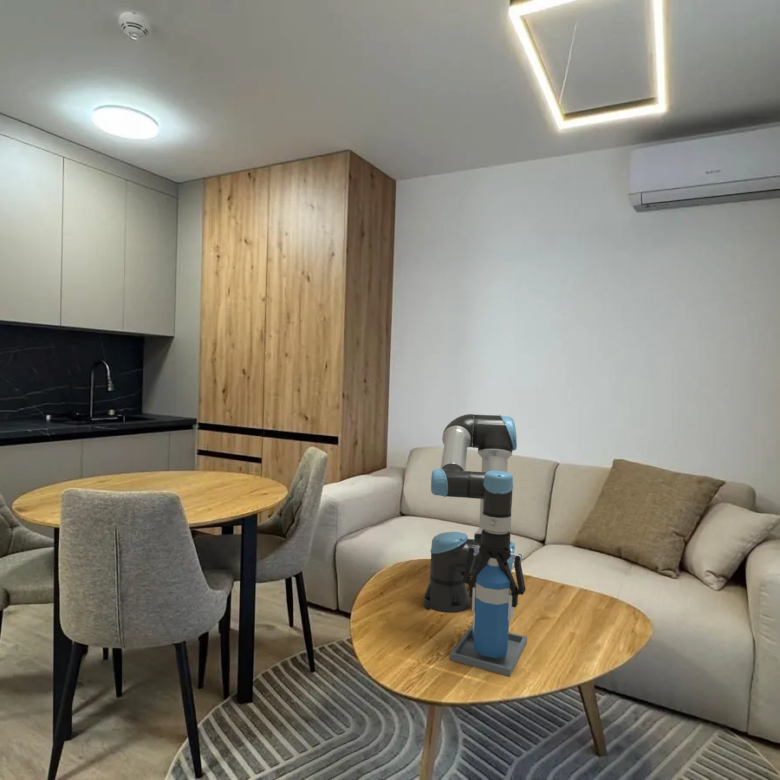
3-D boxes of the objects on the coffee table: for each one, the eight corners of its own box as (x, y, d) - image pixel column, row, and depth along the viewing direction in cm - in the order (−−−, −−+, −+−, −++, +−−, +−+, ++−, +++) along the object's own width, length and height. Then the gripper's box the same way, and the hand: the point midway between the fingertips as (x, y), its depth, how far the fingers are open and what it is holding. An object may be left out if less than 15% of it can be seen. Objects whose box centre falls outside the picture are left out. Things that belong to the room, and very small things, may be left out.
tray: (449, 662, 146) (449, 653, 146) (472, 631, 164) (472, 623, 164) (510, 679, 139) (510, 669, 139) (526, 645, 157) (527, 636, 157)
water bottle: (469, 640, 152) (473, 550, 152) (502, 640, 153) (506, 550, 152) (477, 658, 143) (481, 562, 142) (513, 658, 144) (517, 562, 143)
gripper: (452, 527, 148) (448, 610, 149) (535, 540, 139) (530, 629, 140) (461, 520, 155) (457, 600, 156) (540, 533, 146) (536, 617, 147)
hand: (492, 613), depth 148 cm, fingers closed on water bottle, 9 cm apart
